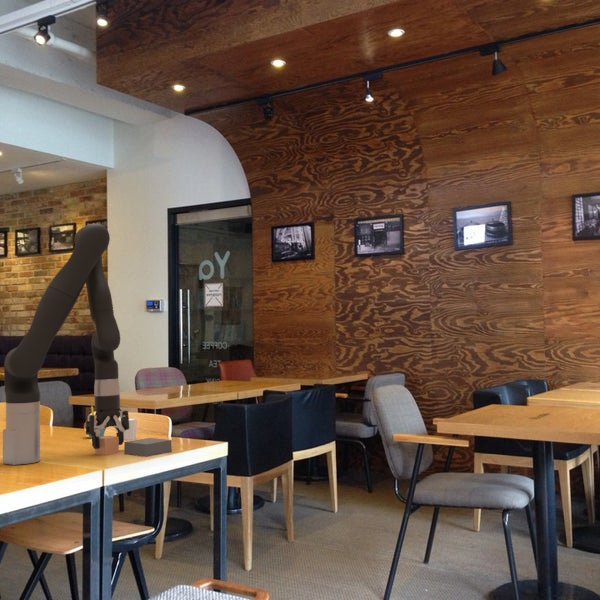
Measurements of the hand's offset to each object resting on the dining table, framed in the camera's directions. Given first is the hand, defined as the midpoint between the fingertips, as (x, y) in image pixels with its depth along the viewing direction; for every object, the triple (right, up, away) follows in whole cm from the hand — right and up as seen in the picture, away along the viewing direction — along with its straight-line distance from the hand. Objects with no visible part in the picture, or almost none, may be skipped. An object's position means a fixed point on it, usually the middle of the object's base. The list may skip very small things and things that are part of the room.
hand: (108, 446), depth 213 cm
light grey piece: (-2, -4, +30) cm, 30 cm away
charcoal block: (+13, -2, -2) cm, 13 cm away
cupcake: (-15, -5, +36) cm, 39 cm away
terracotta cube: (0, -2, 0) cm, 2 cm away
